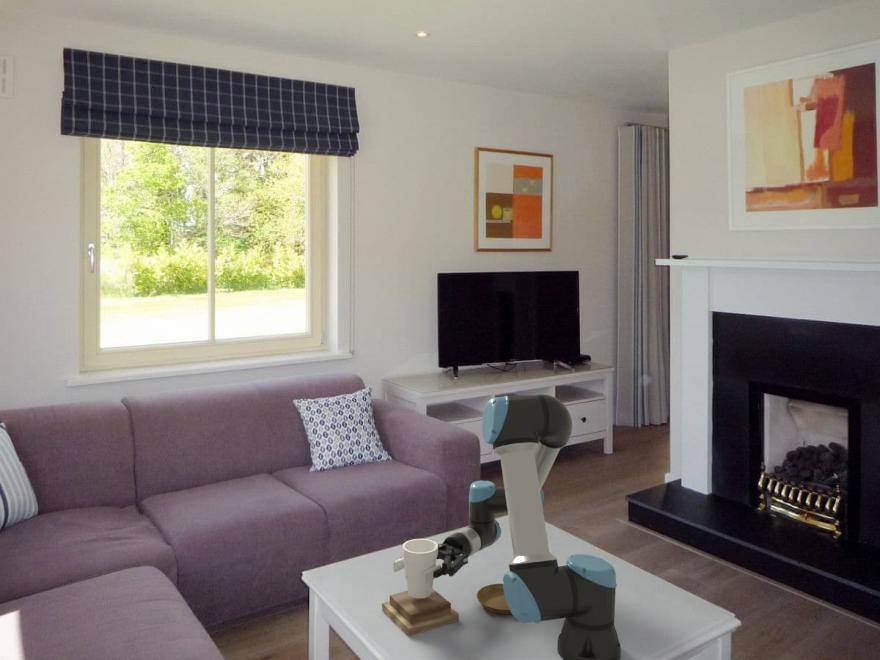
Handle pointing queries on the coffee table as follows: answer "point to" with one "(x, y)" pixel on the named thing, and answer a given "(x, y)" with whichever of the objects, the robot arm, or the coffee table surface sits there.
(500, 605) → the plant saucer
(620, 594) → the coffee table surface
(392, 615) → the plinth
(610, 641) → the robot arm
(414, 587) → the foam cup
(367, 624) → the coffee table surface
